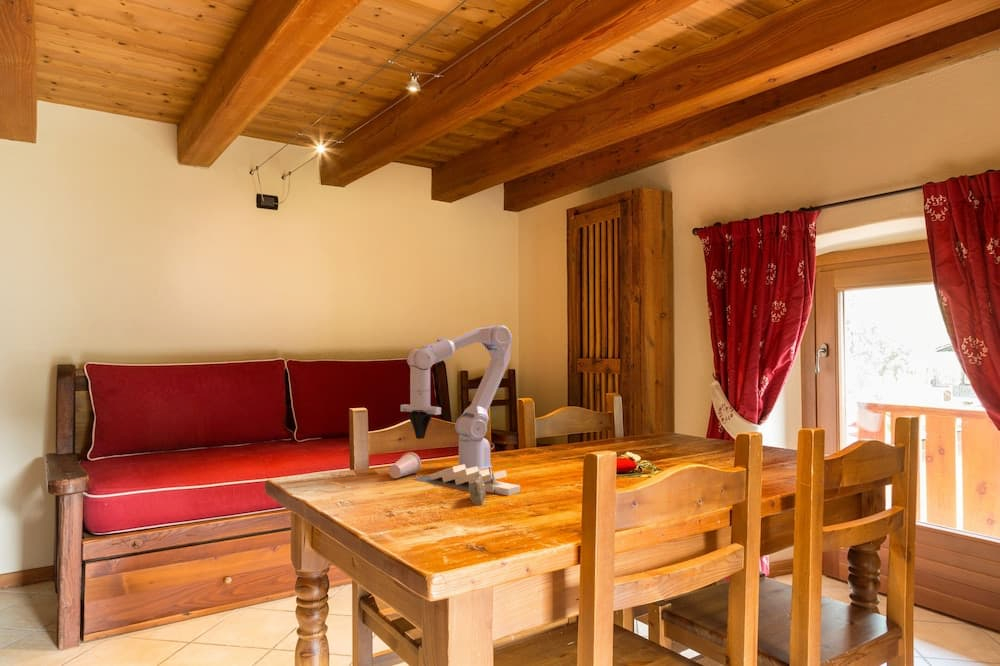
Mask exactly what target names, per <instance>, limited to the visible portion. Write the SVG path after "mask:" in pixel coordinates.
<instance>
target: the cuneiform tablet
mask: <svg viewBox="0 0 1000 666" xmlns="http://www.w3.org/2000/svg"><path fill="white" fill-rule="evenodd" d="M488 469H489V472H490V477H491V482H492V487H493V492H494V493H493V492H492V493H493V495H494V496H495V495H496V493H495V490H494V485H493V481H494V480H492V475H491V471H492V469H491V470H490V467H489V468H488ZM468 492H469V496H470V499H471V503H472V504H473V506H483V503H484V501H485V499H486V494H487V493H486V491H485V484H484V481H483V478H482V475H481V474H477V475H475V476H474V478H473V479H472V480H471V482H470V484H469V491H468Z"/></svg>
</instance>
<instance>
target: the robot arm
mask: <svg viewBox="0 0 1000 666" xmlns="http://www.w3.org/2000/svg"><path fill="white" fill-rule="evenodd" d="M513 340H514V339H513V335H512V332H511V331H510V329H509V328H508V326H506V325H505V324H504V325H503V324H500V325H499V324H498V325H485V326H483V327H478V328H475V329H472V330H469V331H467V332H466V333H464V334H462V335H459V336H458V337H454V338H453V339H451V340H450V339H449V338H442V337H439V338H436V341H434V342H433V343H430V344H427V343H425V344H424V345H422V348H414V349H413V350H411V351H410V353H409V354H408V356H407V358H406V362H407V364H408V366H409V368H410V373H409V374H410V375H409V377H410V378H409V379H410V382H409V383H410V384H409V386H410V387H409V390H410V391H409V392H410V395H409V396H410V398H409V401H410V403H409V404H406V403H404V404H400V412H409V414H408V416H407V417H408V419H409V420H410V422H411V425H412V428H413V430H414V434H415V438H416V439H418V440H422V439H425V437H426V433H427V428H428V426H429V423H430V421H431V419H432V418H433V415H435V416H437V415H442V407H440V406H433V405H431V368H432V366H433V365H435V364H438V363H440V362H442V361H445V360H447V359H449V358H451V357H453V356H454V353H455V351H457V350H460V349H462V348H465V347H468V346H471V345H473V344H475V343H479V344H480V343H481V344H482V345H483V346H484V348H485V349H486V351H488V353H489V356H490V361H489V363H488V366H487V367H486V369H485V372H484V374H483V377H482V379H481V381H480V384H479V385H478V387H477V389H476V393H475V395H474V396H473V399H472V401H471V403H470V405H469V406H467V408H465V409H464V411H463V413H462V414H461V415H460V416H459V417H458V418H457V419H456V421H455V425H454V428H455V431H456V433H457V434H458V465H463V464H465V466H466V469H467V468H472V467H476V466H478V470H479V471H481V470H485V469H489V467H490V468H491V469H492V468H493V466H492V465H491V445H490V441H489V440H488V439H487V438H485V435H486V434H487V432H488V422H489V420H490V417H489V414H488V411H489V408H490V406H491V405H492V402H493V400H494V397H495V395H496V393H497V390H498V388H499V386H500V384H501V381H502V380H503V379H502V378H504V375H505V373H506V370H507V367H508V365H509V363H510V361H511V347H512V345H511V343H512V341H513Z"/></svg>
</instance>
